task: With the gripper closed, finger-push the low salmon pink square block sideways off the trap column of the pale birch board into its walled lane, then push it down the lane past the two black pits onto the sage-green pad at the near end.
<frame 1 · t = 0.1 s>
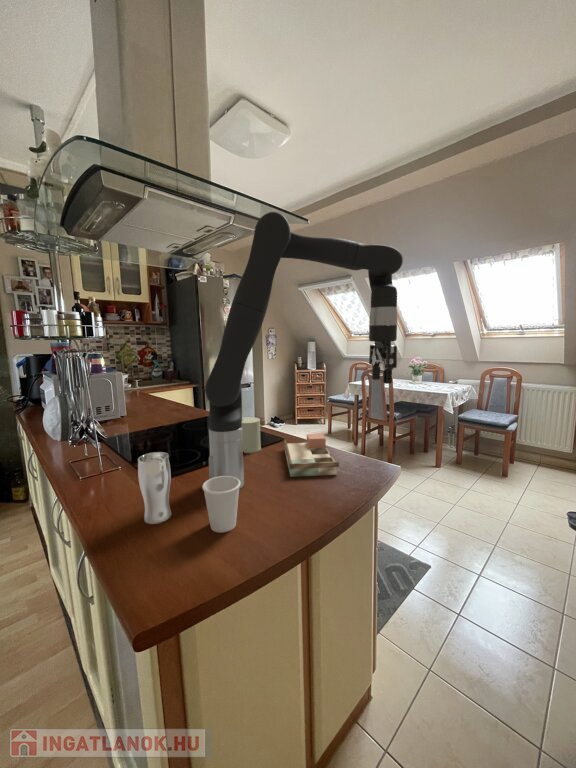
hand: (381, 381, 91), 29 cm above the worktop, fingers open, 8 cm apart
salmon pink square block: (315, 445, 118), point 2 cm above the worktop, touching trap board
can: (249, 449, 122), on the worktop
beer glass: (158, 517, 76), on the worktop
dixie cup: (223, 525, 72), on the worktop
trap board: (308, 460, 109), on the worktop
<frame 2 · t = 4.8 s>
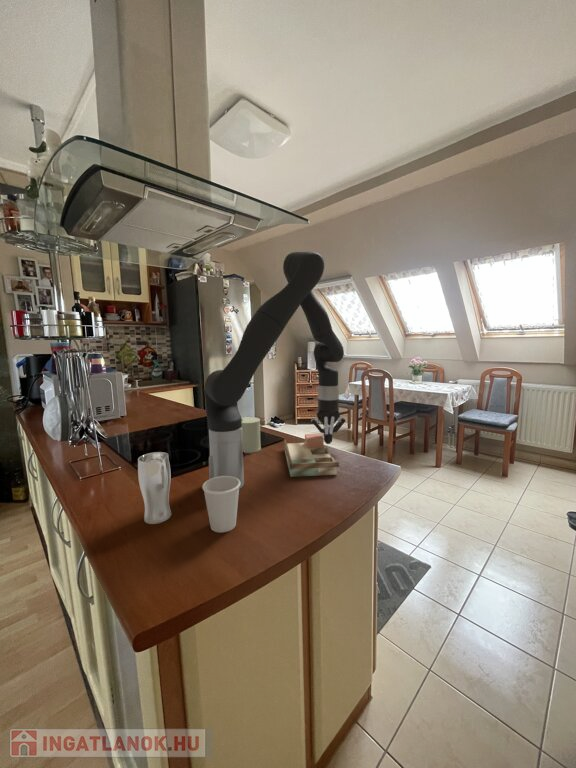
hand: (328, 443, 118), 3 cm above the worktop, fingers closed
salmon pink square block: (314, 445, 118), point 2 cm above the worktop, touching gripper, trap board
everything else where it was.
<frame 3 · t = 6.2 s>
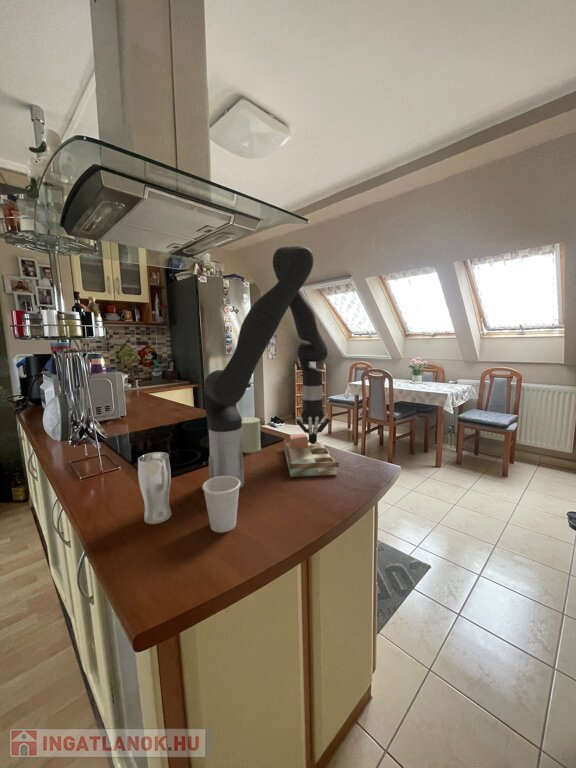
hand: (312, 443, 117), 3 cm above the worktop, fingers closed
salmon pink square block: (298, 445, 117), point 2 cm above the worktop, touching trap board
everything else where it was.
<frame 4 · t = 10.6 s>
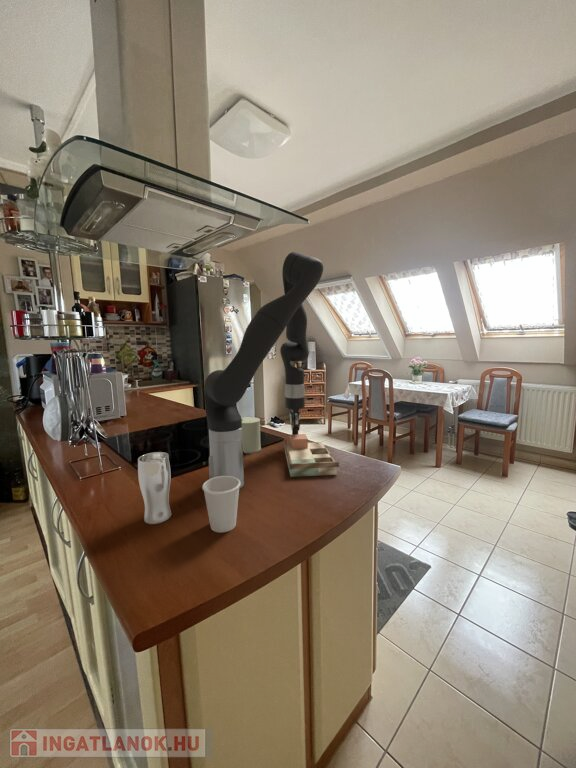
hand: (295, 439, 122), 3 cm above the worktop, fingers closed
salmon pink square block: (298, 445, 117), point 2 cm above the worktop, touching gripper
everything else where it was.
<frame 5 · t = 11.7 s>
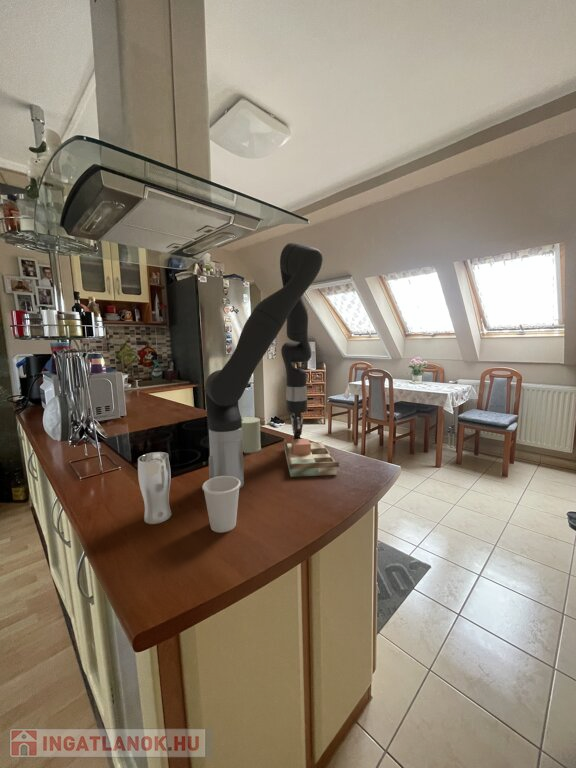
hand: (297, 444, 117), 3 cm above the worktop, fingers closed
salmon pink square block: (300, 451, 112), point 2 cm above the worktop, touching gripper, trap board
everything else where it was.
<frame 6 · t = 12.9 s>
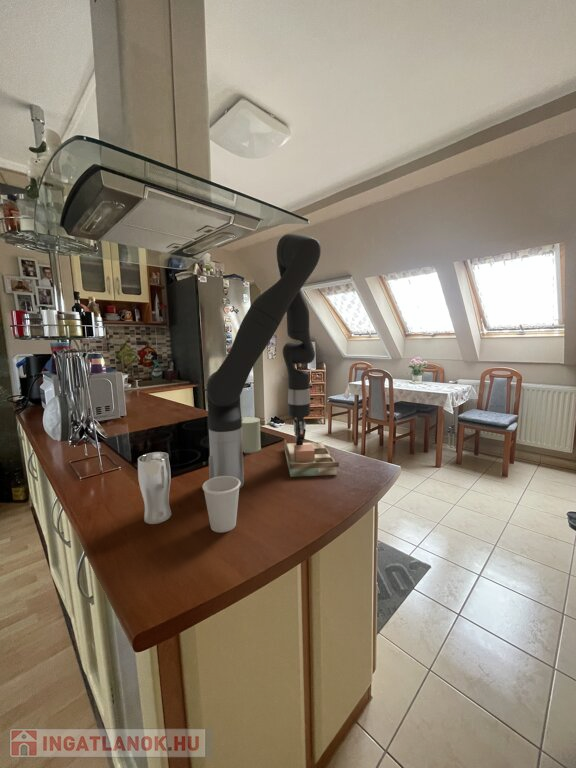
hand: (299, 450, 110), 3 cm above the worktop, fingers closed
salmon pink square block: (304, 458, 105), point 2 cm above the worktop, touching gripper, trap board
everything else where it was.
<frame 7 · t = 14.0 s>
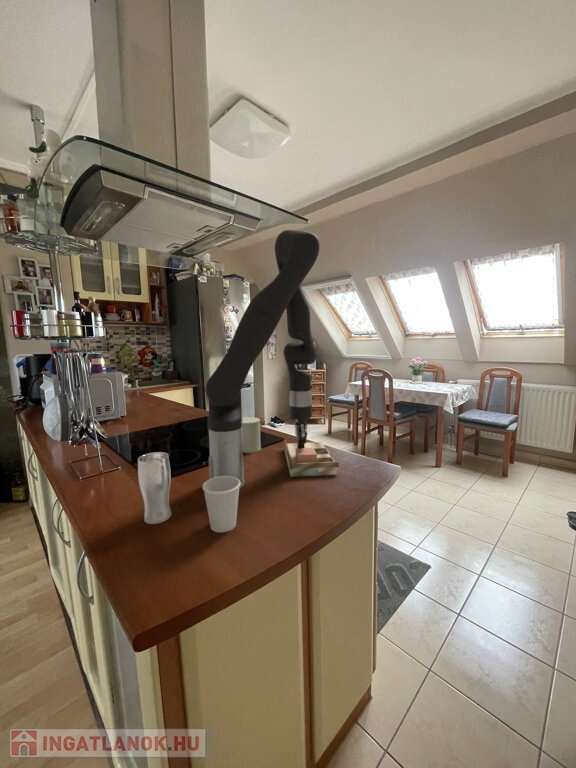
hand: (300, 453, 107), 3 cm above the worktop, fingers closed
salmon pink square block: (306, 461, 102), point 2 cm above the worktop, touching gripper, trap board
everything else where it was.
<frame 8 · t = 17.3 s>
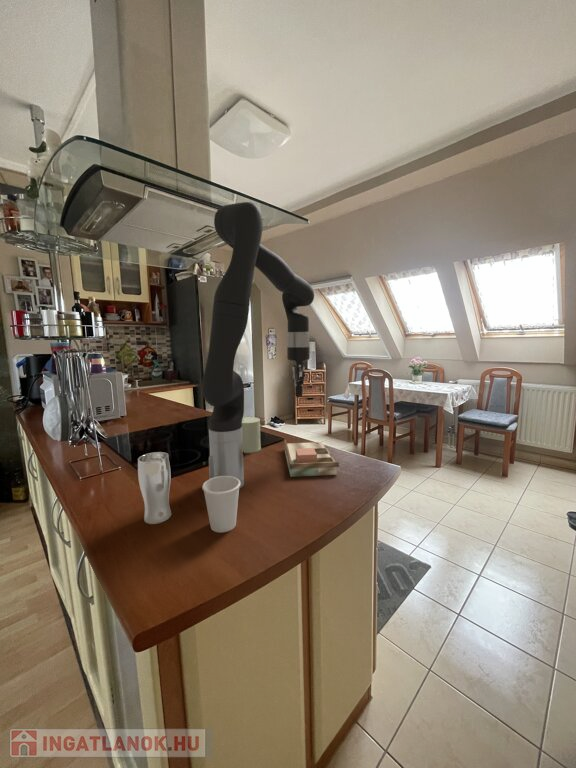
hand: (298, 396, 109), 22 cm above the worktop, fingers closed
salmon pink square block: (306, 461, 102), point 2 cm above the worktop, touching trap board
everything else where it was.
at the end: salmon pink square block inside the target area (0.9 cm from its centre), point 2.4 cm above the worktop; salmon pink square block tilted 0° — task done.
